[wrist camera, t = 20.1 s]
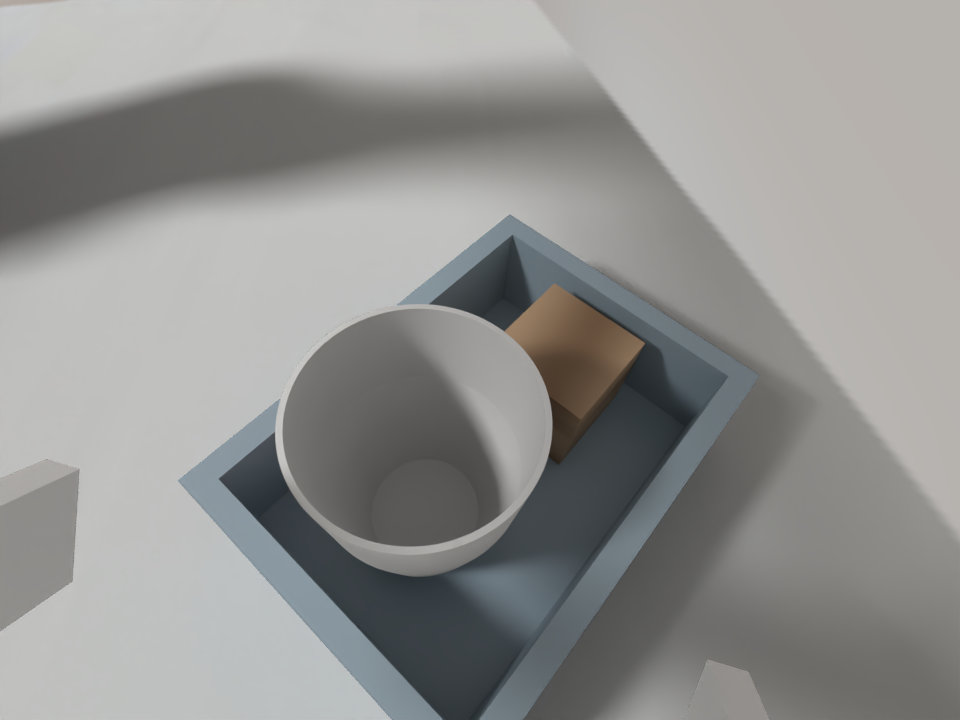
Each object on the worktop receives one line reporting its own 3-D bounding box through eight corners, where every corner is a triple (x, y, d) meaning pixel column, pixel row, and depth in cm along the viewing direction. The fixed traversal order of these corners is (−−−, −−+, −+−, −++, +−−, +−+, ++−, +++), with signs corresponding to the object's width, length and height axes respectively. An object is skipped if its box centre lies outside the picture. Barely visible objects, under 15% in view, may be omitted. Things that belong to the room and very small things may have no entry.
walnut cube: (479, 402, 28) (486, 349, 24) (539, 342, 30) (554, 283, 26) (558, 464, 26) (581, 419, 22) (615, 396, 28) (645, 343, 24)
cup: (420, 398, 28) (409, 265, 19) (550, 500, 25) (604, 399, 17) (296, 522, 24) (215, 426, 16) (433, 654, 22) (427, 625, 13)
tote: (230, 524, 25) (177, 480, 20) (500, 287, 33) (509, 214, 28) (461, 777, 20) (466, 802, 15) (705, 431, 28) (760, 375, 24)
